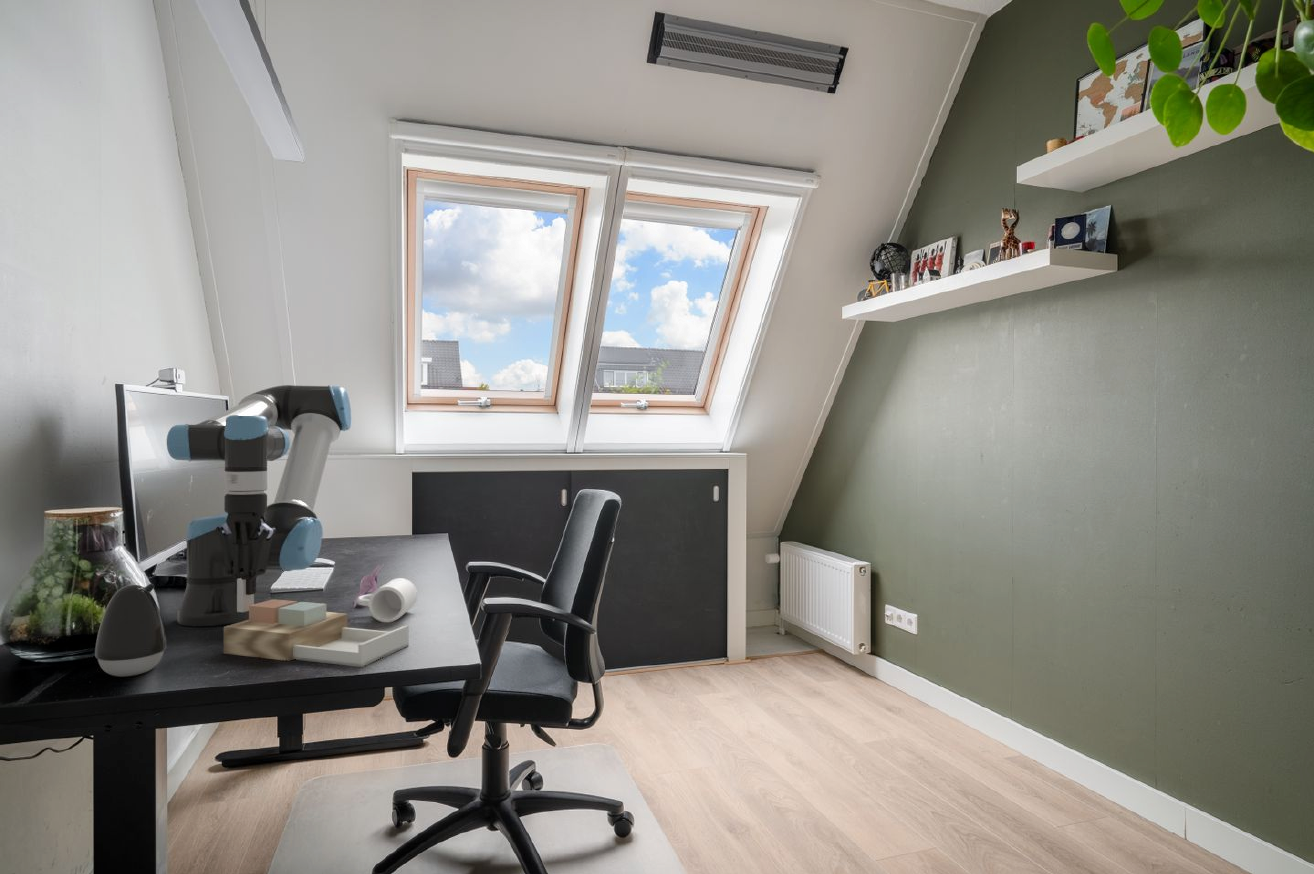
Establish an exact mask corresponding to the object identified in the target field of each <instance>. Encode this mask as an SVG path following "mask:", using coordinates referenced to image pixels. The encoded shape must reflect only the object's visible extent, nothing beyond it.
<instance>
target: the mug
mask: <svg viewBox="0 0 1314 874" xmlns="http://www.w3.org/2000/svg"><path fill="white" fill-rule="evenodd" d="M377 588H378V589H377V590H375V591H373V592H371V593H367V594H365V595H362V596H360V597H359V598H358V600H357V604H358V605H360V606H363V607H368V611H369V612H370V615H371V616H372V617H373V618H374V619H375V620H377V621H378V622H381V623H393V622H395V621H397V620H398V619H400V618H401V617H402V616H403V615H405V614H406V613H407V612H409V611H410V610H411V609H412V608H413V607H414V606H415V604H416V602H417V599H418V590H417V588H416V585H415V584H414V582H412V581H410V580H409V579H407V578H403V577H401V578H400V577H399V578H397V577H396V578H393V579H391V580H390V581H388V582H387V583H385V584H383V585H382V586H380V587H377Z"/></svg>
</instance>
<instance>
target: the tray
mask: <svg viewBox="0 0 1314 874" xmlns="http://www.w3.org/2000/svg"><path fill="white" fill-rule="evenodd" d="M409 627H410V625H402V626H401V627H398V628H396V629H394V630H391V631H387V630H376V629H367V628H358V627H348V628H347V627H344V628H342V638H341V639H338V640H335V641H333V642H330V643H327V644H325V645H322V646H320V647H313V646H304V645H294V646H293V659H292V660H294V659H296V661H305V662H313V663H314V662H315V663H322V664H331V665H339V666H340V665H341V666H348V667H358V668H364V667H365V665H366V666H368V665H370V664H372V663H374V661H375V662H377V661H379V660H381V659H383V658H386V657H387V656H390V655H392V654H394V652H395V653H397V652H399V651H401V650H403V649H405V648H404V647H406V648H407V647H410V646H409V632H410V629H409ZM402 648H403V649H402ZM400 649H401V650H400ZM398 650H399V651H398ZM396 651H397V652H396ZM382 657H383V658H382ZM380 658H381V659H380ZM378 659H379V660H378ZM376 660H377V661H376Z"/></svg>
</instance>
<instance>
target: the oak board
mask: <svg viewBox="0 0 1314 874" xmlns="http://www.w3.org/2000/svg"><path fill="white" fill-rule="evenodd" d="M348 615H349V614H348V613H343V612H333V611H331V612H330V611H326V619H325V620H322V621H319V622H316V623H313V624H310V625H307V626H293V625H283V624H278V623H274V624H273V623H263V622H253V621H249V619H247V620H244V621H240V622H235V623H231V624H230V625H229V624H228V625H226V626H224V627H223V654H224V655H225V654H226V655H232V656H233V655H235V656H244V657H250V658H251V657H252V658H253V657H254V658H259V657H260V658H261V659H269V660H270V659H271V660H277V661H286V660H287V661H288V662H289V661H293V660H294V659H293V646H294V645H304V646H313V647H320V646H322V645H325V644H327V643H330V642H333V641H335V640H338V639H341V638H342V628H344V627H347V628H349V627H348V624H349V623H348V621H349V620H348V617H349V616H348ZM260 658H259V659H260Z"/></svg>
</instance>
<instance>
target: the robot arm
mask: <svg viewBox="0 0 1314 874" xmlns="http://www.w3.org/2000/svg"><path fill="white" fill-rule="evenodd" d="M351 410H352V409H351V403H350V397H349V395H348V392H347V390H346V389H345V388H344V387H342V386H335V385H333V386H332V385H327V386H326V385H289V384H287V385H285V384H284V385H277V386H273V387H269V388H264V389H262V390H259V391H256V392H254V393H251V394H248V395H247V396H245V397H243V398H242V399H241V400H240V401H239V403H238V404H237V405H235V406H234V407H231V408H229V409H227V410H224V411H223V412H221V413H218V414H216V415H214V416H213V417H210V418H208V419H205V420H204V421H202V422H200V423H197V424H188V423H186V424H176V425H173V426H172V427H170V429H169V430H168V432H167V435H166V436H167V437H166V450H167V452H168V454H169V456H170V457H171V458H172V459H173V460H176V461H188V462H193V461H194V462H195V461H197V462H198V461H202V462H203V461H205V462H206V461H208V462H209V461H211V462H212V461H216V462H218V461H224V491H225V492H227V493H226V494H225V495H224V501H223V502H224V503H223V504H224V505H223V507H224V512H225V513H221V514H215V515H209V516H203V517H199V518H195V519H192V520H191V521H190V522H189V523H188V525H187V531H186V532H187V533H186V540H185V542H186V588H185V591H184V594H183V597H182V601H181V604H180V608H178V611H177V615H176V616H177V620H176V621H177V624H179V625H182V626H186V627H187V626H188V627H215V626H222V625H229V624H230V625H231V624H235V623H239V622H242V621H246V620H249V606H250V605H254V604H256V603H255V594H256V593H257V578H258V577H259V576H262V575H265V574H266V571H268V572H269V571H270V572H272V571H273V572H274V571H277V572H278V571H284V572H291V571H299V570H300V571H301V570H302V571H303V570H307V568H309V567H311V566H312V565H313V564H314V563H315V561H316V560H317V558H318V556H319V554H320V552H321V548H322V538H323V534H324V532H323V531H324V530H323V526H322V523H321V521H320V520H319V519H318V516H317V514H316V513H315V511H314V509H315V505H316V502H317V501H316V500H317V496H318V493H319V489H320V485H321V483H322V482H321V481H322V478H323V473H324V470H325V466H326V463H327V459H328V455H329V452H330V448H331V444H332V443H333V442H335V441H337V440H338V438H339V437H340V436H341V435H340V433H341V431H342V432H346V431H348V430H350V429H351V427H352V426H351V425H352V411H351ZM287 430H289V431H292V433H293V434H294V435H293V436H294V437H293V440H292V442H290V441H291V440H290V437H289V434H288V433H287ZM288 450H289V453H288ZM287 453H288V456H287V459H286V463H285V466H284V468H283V472H282V475H281V479H280V481H279V485H278V488H277V491H276V493H275V498H274V502H273V503H270V504H268V494H267V493H266V492H265V491H267V490H268V462H273V461H276V460H278V459H281V458H282V457H284V456H285V455H286V454H287Z"/></svg>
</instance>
